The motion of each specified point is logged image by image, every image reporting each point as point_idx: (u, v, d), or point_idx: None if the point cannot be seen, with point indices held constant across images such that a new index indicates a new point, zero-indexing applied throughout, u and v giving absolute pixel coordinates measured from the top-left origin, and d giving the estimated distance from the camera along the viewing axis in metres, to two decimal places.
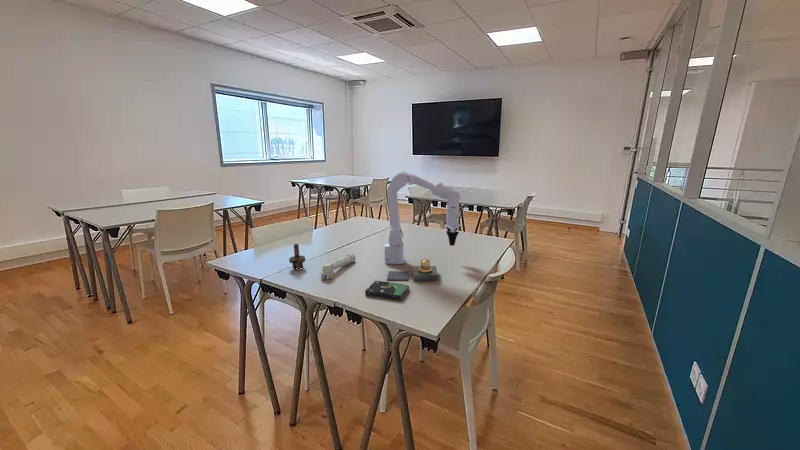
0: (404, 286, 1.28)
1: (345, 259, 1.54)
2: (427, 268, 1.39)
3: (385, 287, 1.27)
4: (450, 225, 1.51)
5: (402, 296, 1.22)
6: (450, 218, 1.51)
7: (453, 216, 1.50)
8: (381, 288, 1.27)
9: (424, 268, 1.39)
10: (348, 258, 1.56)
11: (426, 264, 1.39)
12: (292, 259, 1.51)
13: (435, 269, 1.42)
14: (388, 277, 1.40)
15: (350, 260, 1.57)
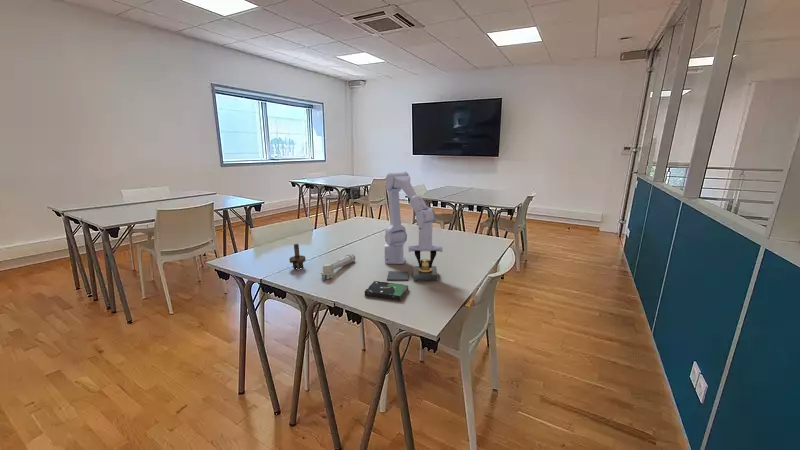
0: (403, 286, 1.28)
1: (345, 259, 1.54)
2: (427, 268, 1.39)
3: (384, 287, 1.27)
4: None
5: (402, 296, 1.22)
6: None
7: None
8: (380, 288, 1.26)
9: (424, 268, 1.39)
10: (348, 258, 1.56)
11: (426, 264, 1.39)
12: (292, 259, 1.51)
13: (435, 269, 1.42)
14: (388, 277, 1.40)
15: (350, 260, 1.57)
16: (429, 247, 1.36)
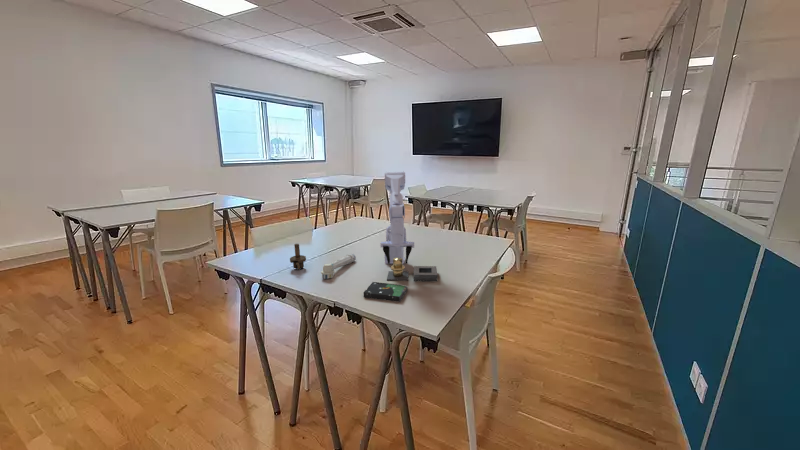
0: (402, 287, 1.27)
1: (345, 259, 1.54)
2: (399, 266, 1.40)
3: (383, 288, 1.26)
4: None
5: (401, 297, 1.21)
6: None
7: (390, 232, 1.38)
8: (379, 289, 1.26)
9: (396, 266, 1.40)
10: (348, 258, 1.57)
11: (398, 262, 1.39)
12: (293, 259, 1.51)
13: (435, 269, 1.42)
14: (388, 277, 1.40)
15: (350, 260, 1.58)
16: (401, 243, 1.37)
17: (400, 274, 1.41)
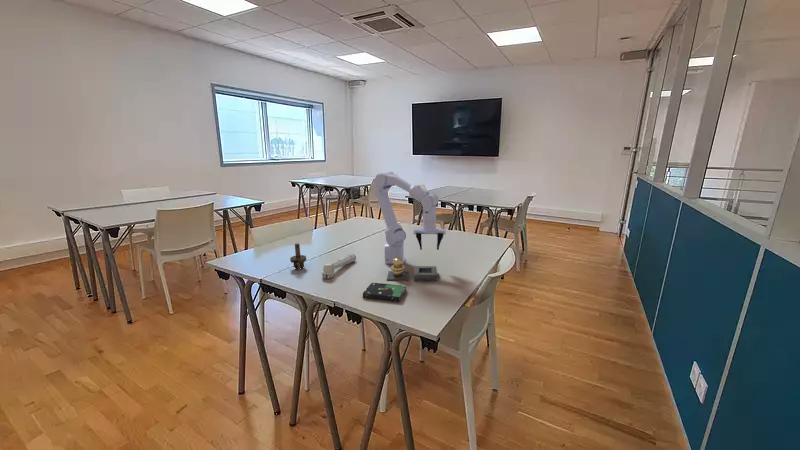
0: (402, 287, 1.27)
1: (346, 258, 1.55)
2: (399, 266, 1.40)
3: (382, 289, 1.26)
4: None
5: (401, 297, 1.21)
6: None
7: (423, 220, 1.46)
8: (378, 290, 1.25)
9: (396, 266, 1.40)
10: (349, 257, 1.57)
11: (398, 262, 1.39)
12: (293, 259, 1.51)
13: (435, 269, 1.42)
14: (388, 277, 1.40)
15: (351, 259, 1.58)
16: (433, 230, 1.45)
17: (400, 274, 1.41)
